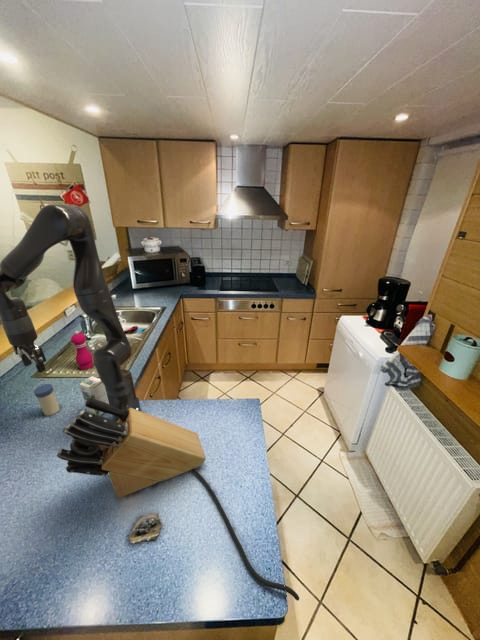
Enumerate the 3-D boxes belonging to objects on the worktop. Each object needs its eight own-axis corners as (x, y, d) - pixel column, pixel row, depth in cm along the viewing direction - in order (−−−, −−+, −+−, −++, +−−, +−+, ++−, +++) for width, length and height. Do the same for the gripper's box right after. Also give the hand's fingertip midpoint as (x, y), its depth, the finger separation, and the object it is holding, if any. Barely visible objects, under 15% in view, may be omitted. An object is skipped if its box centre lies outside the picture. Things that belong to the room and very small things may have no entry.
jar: (62, 408, 101) (54, 387, 96) (49, 417, 96) (40, 395, 92) (54, 404, 103) (46, 383, 98) (40, 412, 98) (31, 391, 94)
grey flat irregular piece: (165, 533, 63) (164, 529, 62) (132, 555, 59) (130, 551, 58) (157, 508, 68) (156, 504, 67) (126, 527, 64) (125, 523, 63)
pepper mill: (87, 371, 123) (76, 335, 114) (74, 369, 124) (63, 333, 116) (97, 363, 129) (88, 328, 121) (85, 361, 130) (75, 327, 122)
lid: (56, 390, 97) (55, 386, 96) (41, 399, 92) (39, 395, 91) (47, 386, 99) (46, 382, 98) (32, 394, 94) (30, 391, 94)
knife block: (84, 476, 76) (53, 397, 63) (197, 438, 89) (191, 366, 76) (78, 514, 67) (41, 432, 53) (206, 466, 79) (201, 389, 66)
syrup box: (87, 413, 98) (78, 384, 92) (100, 403, 103) (92, 375, 97) (98, 418, 96) (89, 388, 90) (110, 407, 101) (102, 378, 95)
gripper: (44, 328, 84) (58, 368, 91) (20, 320, 90) (34, 357, 97) (18, 338, 78) (35, 379, 85) (-6, 328, 84) (12, 368, 91)
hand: (35, 368), depth 91 cm, fingers open, 8 cm apart
